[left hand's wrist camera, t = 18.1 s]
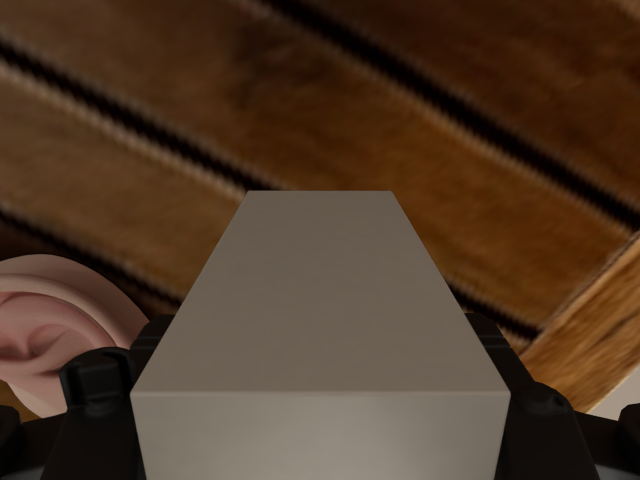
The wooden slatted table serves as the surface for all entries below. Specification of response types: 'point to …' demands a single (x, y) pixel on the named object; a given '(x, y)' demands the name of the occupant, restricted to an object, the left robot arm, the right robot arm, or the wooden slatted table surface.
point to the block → (320, 355)
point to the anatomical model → (56, 324)
